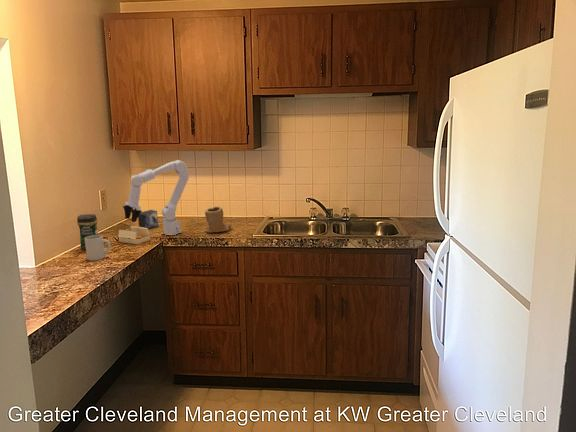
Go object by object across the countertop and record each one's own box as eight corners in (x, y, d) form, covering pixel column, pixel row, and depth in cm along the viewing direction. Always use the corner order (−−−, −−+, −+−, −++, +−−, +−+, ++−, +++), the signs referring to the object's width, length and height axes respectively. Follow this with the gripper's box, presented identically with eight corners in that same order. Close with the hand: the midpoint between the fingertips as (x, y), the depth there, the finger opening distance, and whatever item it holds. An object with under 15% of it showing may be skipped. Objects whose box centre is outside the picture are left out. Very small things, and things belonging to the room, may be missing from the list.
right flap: (148, 234, 258) (150, 233, 259) (146, 229, 256) (147, 227, 257) (132, 232, 264) (134, 231, 265) (130, 227, 262) (131, 225, 263)
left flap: (137, 232, 250) (135, 231, 249) (135, 239, 250) (134, 239, 249) (121, 229, 257) (119, 229, 255) (119, 236, 256) (118, 236, 255)
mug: (84, 261, 226) (81, 239, 223) (91, 255, 234) (88, 235, 231) (109, 259, 226) (106, 238, 223) (114, 254, 234) (112, 234, 232)
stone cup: (204, 235, 264) (202, 210, 260) (206, 230, 275) (204, 205, 272) (231, 233, 265) (229, 208, 262) (231, 228, 277) (229, 204, 273)
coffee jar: (79, 250, 244) (74, 216, 240) (84, 246, 252) (79, 213, 247) (97, 249, 245) (92, 215, 240) (102, 245, 252) (97, 212, 248)
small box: (145, 230, 280) (143, 214, 278) (138, 229, 284) (136, 212, 282) (159, 226, 288) (157, 210, 286) (152, 225, 292) (151, 209, 290)
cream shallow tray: (150, 239, 258) (149, 235, 258) (136, 244, 250) (136, 240, 249) (133, 237, 265) (132, 233, 265) (119, 242, 257) (118, 237, 256)
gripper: (121, 193, 258) (117, 216, 260) (133, 198, 249) (130, 222, 250) (132, 194, 264) (129, 217, 265) (145, 199, 254) (141, 223, 256)
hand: (130, 220), depth 258 cm, fingers open, 7 cm apart
